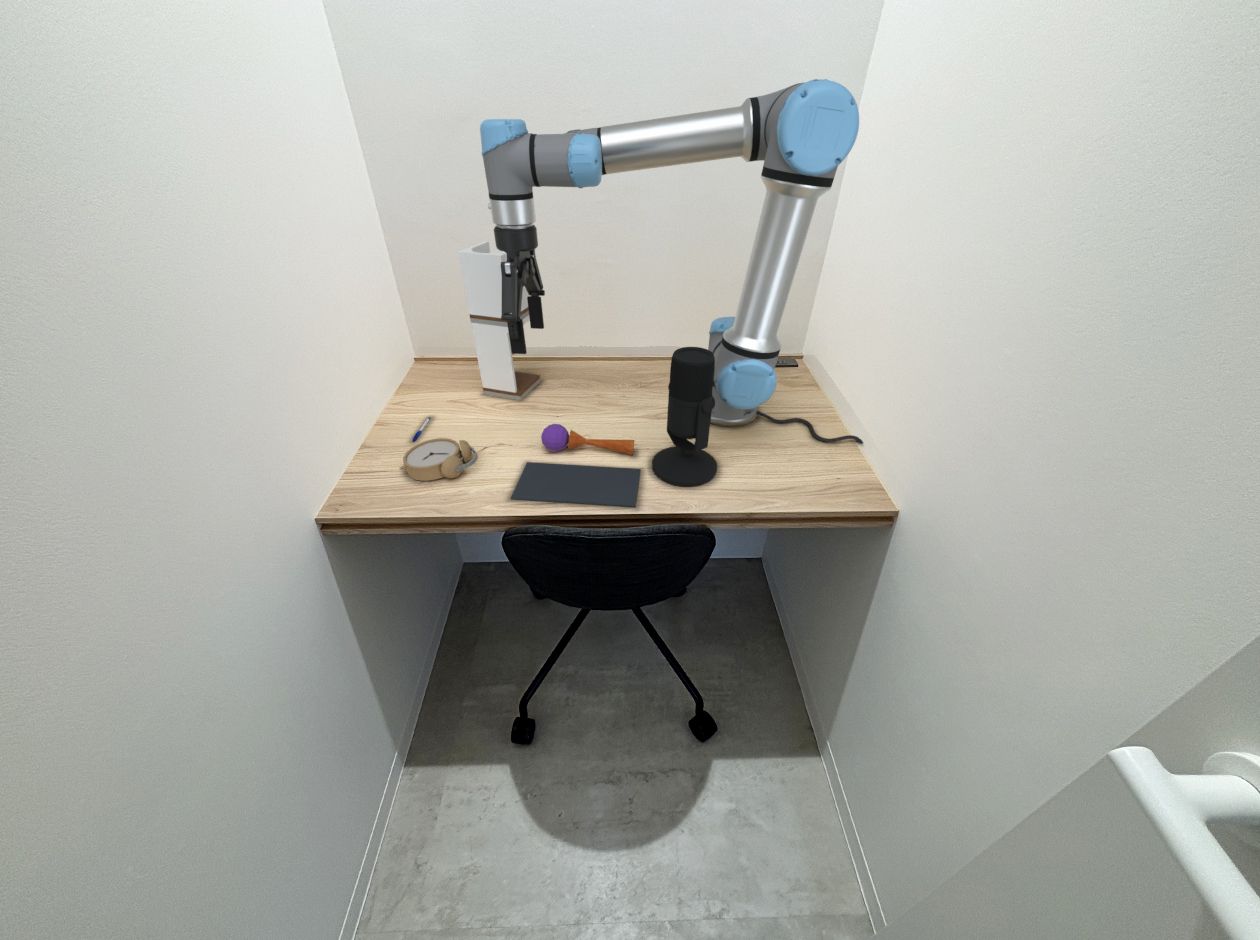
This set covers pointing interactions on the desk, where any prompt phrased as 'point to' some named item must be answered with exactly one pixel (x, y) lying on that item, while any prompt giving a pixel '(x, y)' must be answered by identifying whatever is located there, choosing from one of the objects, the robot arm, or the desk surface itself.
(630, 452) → the kendama
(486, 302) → the display case
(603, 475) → the mat
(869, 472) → the desk surface
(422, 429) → the ballpoint pen
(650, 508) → the desk surface
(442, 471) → the alarm clock
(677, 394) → the microphone
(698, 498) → the desk surface
